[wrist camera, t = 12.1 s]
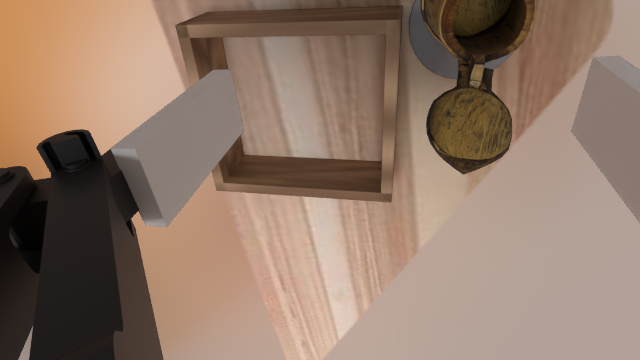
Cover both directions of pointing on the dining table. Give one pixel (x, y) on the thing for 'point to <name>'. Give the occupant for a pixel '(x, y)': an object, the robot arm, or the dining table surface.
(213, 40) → the wooden frame
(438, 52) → the coaster
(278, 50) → the dining table surface
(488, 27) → the wooden mug
